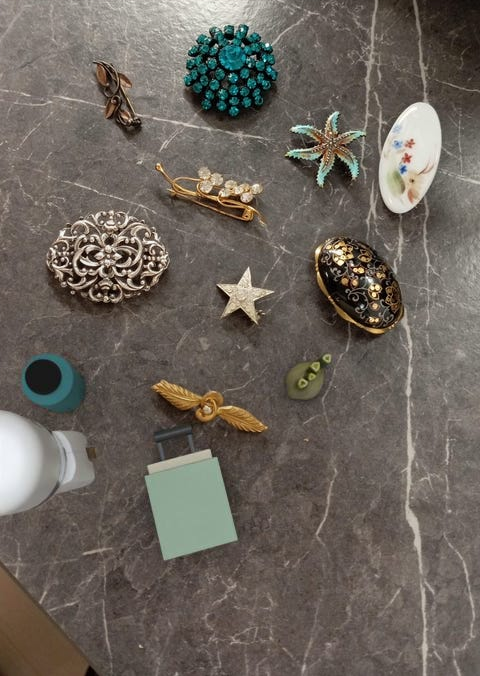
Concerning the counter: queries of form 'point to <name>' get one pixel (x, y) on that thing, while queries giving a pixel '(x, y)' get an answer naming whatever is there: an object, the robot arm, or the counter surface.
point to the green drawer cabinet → (190, 508)
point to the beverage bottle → (53, 383)
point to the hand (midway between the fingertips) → (50, 468)
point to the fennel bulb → (306, 378)
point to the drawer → (178, 461)
